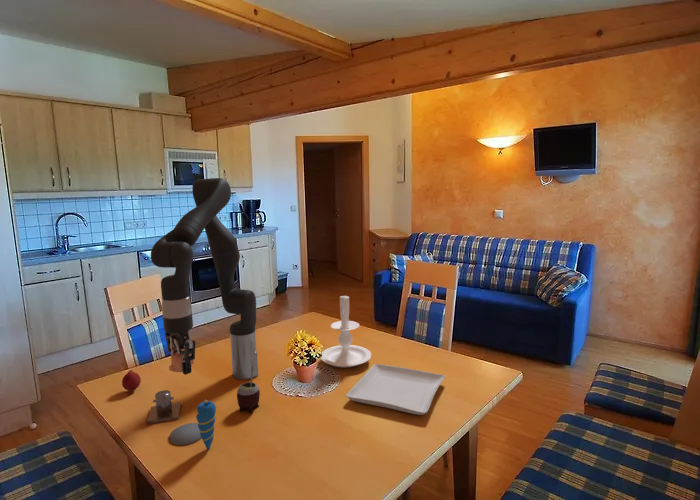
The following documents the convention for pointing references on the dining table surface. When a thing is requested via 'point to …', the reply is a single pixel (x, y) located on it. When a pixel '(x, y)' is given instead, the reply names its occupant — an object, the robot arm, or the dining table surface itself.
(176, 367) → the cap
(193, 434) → the coaster
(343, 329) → the candlestick
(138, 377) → the onion
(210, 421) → the ornament
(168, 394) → the cylinder on square base
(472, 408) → the dining table surface
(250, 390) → the mate gourd
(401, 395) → the square plate
